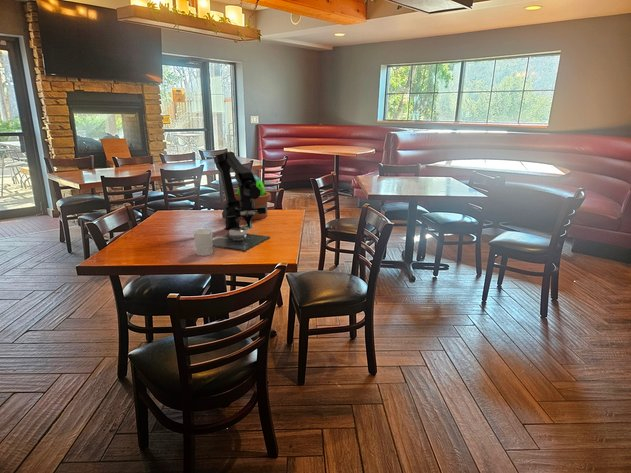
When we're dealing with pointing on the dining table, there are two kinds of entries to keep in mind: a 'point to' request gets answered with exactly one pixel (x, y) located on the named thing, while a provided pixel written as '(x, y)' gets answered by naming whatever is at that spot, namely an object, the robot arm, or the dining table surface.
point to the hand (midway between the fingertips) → (249, 227)
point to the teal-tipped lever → (239, 232)
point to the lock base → (239, 242)
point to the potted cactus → (259, 201)
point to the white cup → (203, 241)
